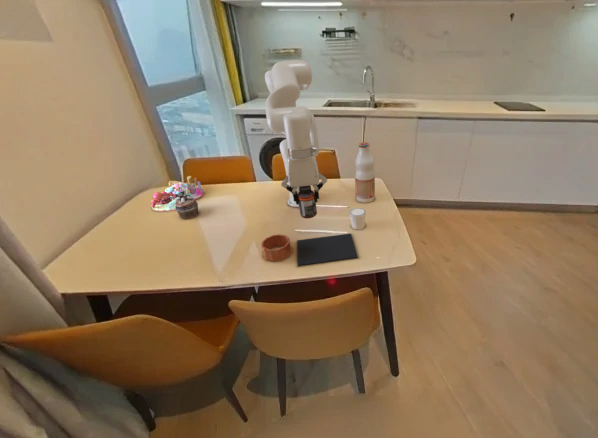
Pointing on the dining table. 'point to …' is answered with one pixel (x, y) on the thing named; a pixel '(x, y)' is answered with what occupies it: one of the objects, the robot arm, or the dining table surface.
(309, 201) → the supplement bottle
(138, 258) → the dining table surface
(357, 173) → the fruit juice
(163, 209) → the candy platter
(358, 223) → the white cup
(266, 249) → the holder
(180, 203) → the cupcake
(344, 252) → the mat
